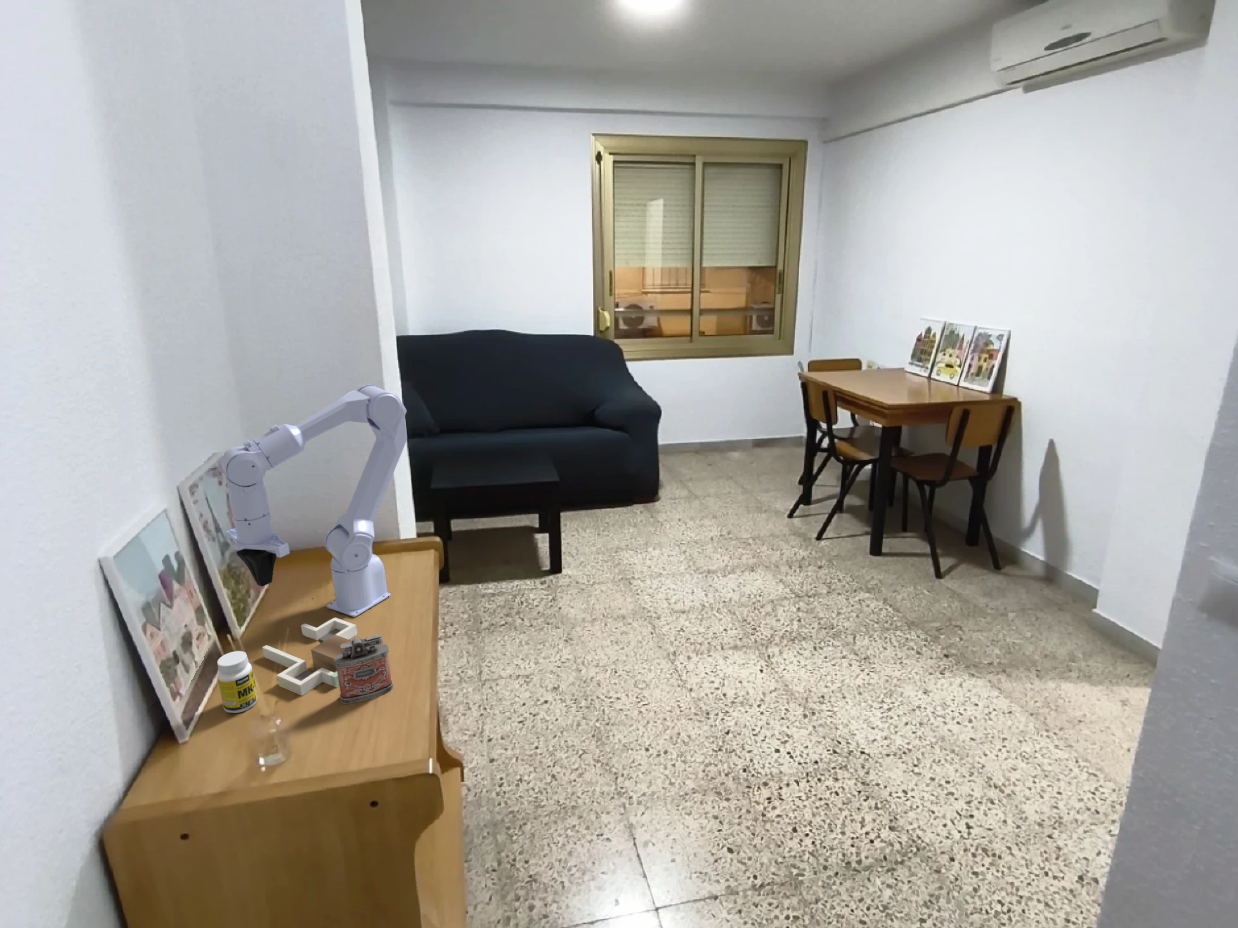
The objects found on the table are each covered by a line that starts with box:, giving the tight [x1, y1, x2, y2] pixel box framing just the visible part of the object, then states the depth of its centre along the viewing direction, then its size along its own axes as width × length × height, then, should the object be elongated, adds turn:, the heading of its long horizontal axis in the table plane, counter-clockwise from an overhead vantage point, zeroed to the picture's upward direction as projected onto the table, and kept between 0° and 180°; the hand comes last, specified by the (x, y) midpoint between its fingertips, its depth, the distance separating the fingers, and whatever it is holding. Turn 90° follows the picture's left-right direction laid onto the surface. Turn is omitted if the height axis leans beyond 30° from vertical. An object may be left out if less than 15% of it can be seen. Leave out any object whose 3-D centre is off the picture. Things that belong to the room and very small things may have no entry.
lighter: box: [334, 633, 394, 705], centre depth 106 cm, size 8×3×10 cm, turn 117°
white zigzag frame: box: [262, 617, 358, 697], centre depth 116 cm, size 17×18×2 cm
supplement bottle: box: [216, 650, 257, 714], centre depth 104 cm, size 5×5×8 cm
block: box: [310, 635, 352, 673], centre depth 114 cm, size 5×6×4 cm
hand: (264, 583), depth 121 cm, fingers closed
